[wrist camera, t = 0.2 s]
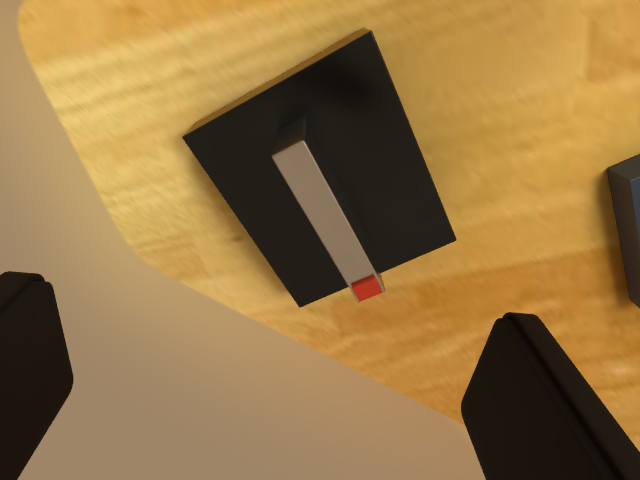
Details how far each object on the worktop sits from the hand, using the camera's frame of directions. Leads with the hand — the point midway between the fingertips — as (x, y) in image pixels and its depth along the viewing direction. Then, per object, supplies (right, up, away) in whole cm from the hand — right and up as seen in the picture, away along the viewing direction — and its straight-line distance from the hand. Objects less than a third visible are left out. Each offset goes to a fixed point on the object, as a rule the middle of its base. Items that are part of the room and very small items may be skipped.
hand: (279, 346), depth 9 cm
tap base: (+1, +6, +17) cm, 19 cm away
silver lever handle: (+1, +5, +15) cm, 16 cm away
